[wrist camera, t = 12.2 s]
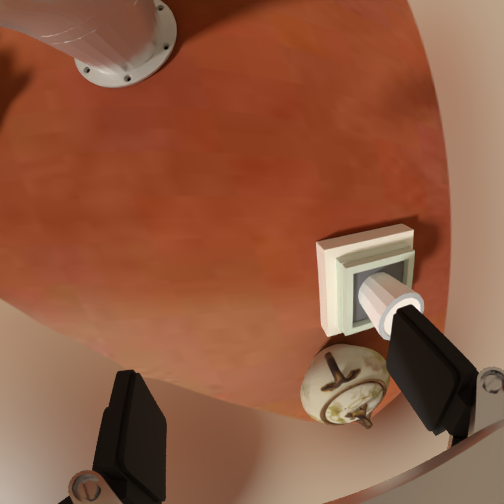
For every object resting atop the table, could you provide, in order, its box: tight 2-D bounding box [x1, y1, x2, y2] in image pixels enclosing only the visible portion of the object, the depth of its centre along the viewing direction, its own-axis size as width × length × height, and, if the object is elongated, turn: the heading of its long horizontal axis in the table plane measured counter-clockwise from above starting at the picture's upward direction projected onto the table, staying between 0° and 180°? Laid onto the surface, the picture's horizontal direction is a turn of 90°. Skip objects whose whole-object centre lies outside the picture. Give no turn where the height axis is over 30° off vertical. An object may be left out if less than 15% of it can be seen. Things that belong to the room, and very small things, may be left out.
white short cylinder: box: [358, 272, 424, 341], centre depth 36 cm, size 7×7×7 cm
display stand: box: [316, 224, 415, 337], centre depth 41 cm, size 14×14×6 cm
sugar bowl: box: [301, 344, 390, 429], centre depth 42 cm, size 20×15×15 cm
